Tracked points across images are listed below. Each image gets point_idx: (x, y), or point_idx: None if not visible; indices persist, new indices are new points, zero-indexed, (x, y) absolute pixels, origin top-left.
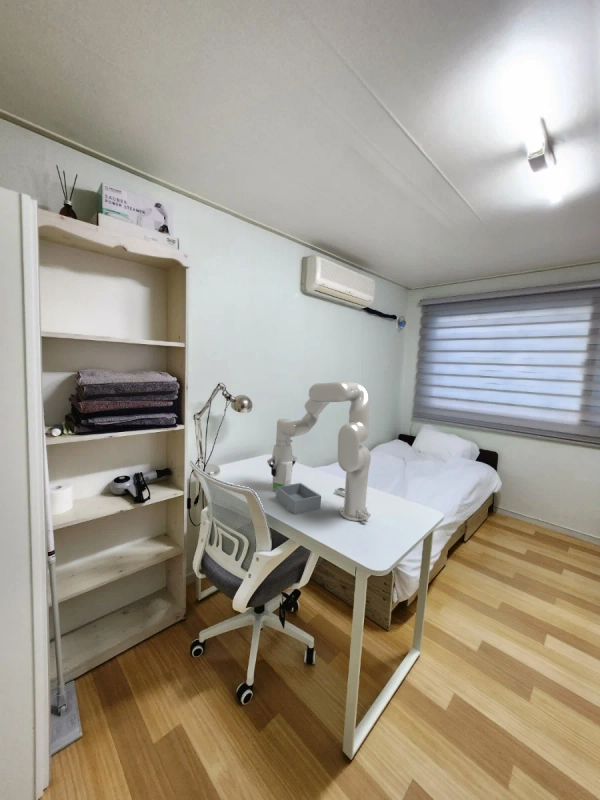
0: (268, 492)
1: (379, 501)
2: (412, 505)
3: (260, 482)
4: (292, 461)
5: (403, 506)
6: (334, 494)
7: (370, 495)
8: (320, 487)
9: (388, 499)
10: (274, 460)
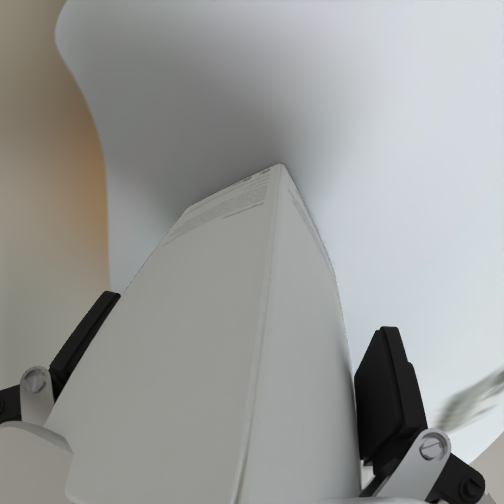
0: (147, 234)
1: (463, 444)
2: (473, 455)
3: (172, 5)
4: (447, 500)
5: (460, 458)
6: (446, 401)
7: (492, 421)
8: (489, 334)
9: (484, 438)
10: (25, 480)
